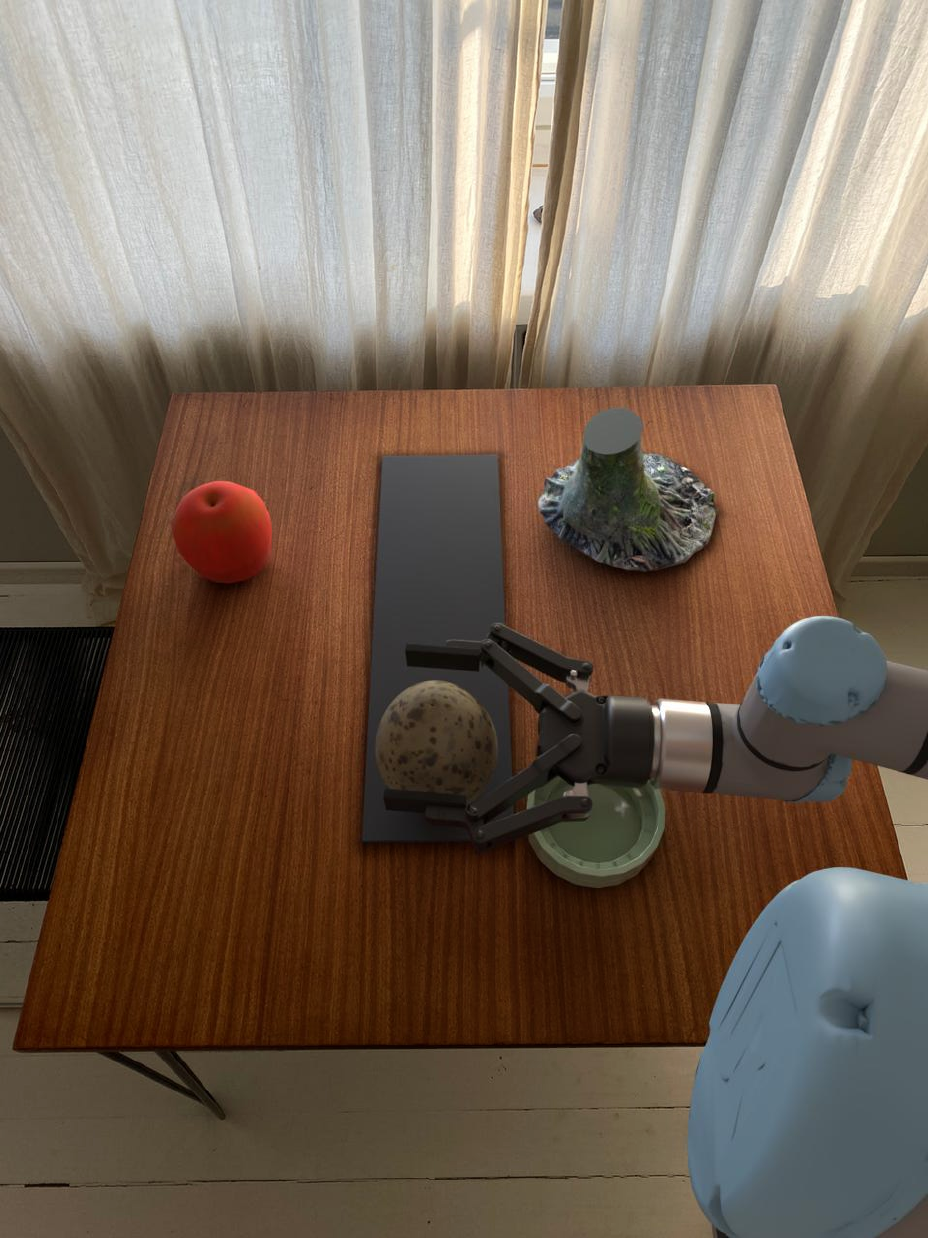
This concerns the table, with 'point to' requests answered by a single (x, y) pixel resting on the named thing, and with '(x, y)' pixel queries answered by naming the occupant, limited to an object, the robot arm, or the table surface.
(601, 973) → the table surface
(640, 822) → the bowl
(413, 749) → the decorative egg
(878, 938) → the robot arm
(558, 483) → the tree stump
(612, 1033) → the table surface
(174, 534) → the apple
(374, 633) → the mat
